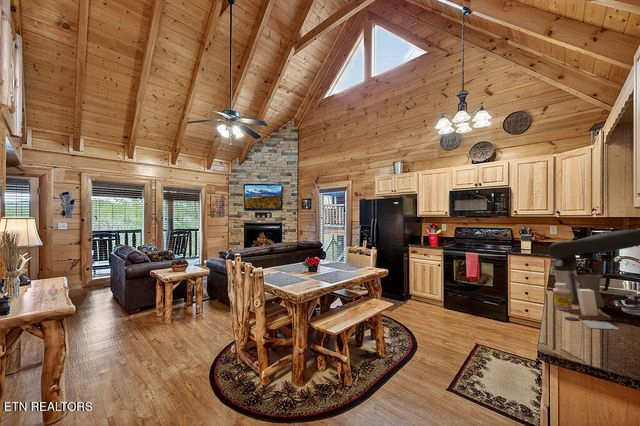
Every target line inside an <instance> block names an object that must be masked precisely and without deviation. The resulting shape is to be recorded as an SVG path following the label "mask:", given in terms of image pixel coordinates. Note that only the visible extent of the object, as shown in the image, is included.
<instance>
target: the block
mask: <svg viewBox="0 0 640 426" xmlns="http://www.w3.org/2000/svg"><path fill="white" fill-rule="evenodd" d="M577 291H578V298H579V302H578V303H579V308H580V311H581V313H580V315H592V316H599V314H598V313H597V307H596V301H595V294H594V291H592V290H590V289H581V288H579V289H577Z"/></svg>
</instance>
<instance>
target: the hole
mask: <svg viewBox="0 0 640 426" xmlns="http://www.w3.org/2000/svg"><path fill="white" fill-rule="evenodd" d="M564 320H566V321H570V322H572V321H573V322H579V321H580V319H579V318H578V317H574V316H565V317H564Z"/></svg>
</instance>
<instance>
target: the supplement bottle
mask: <svg viewBox="0 0 640 426" xmlns="http://www.w3.org/2000/svg"><path fill="white" fill-rule="evenodd" d="M566 287H567V284H565V283H556V282H555V283H554V288H553V289H552V292H553V300H554V307H555V309H557V310H560V311H569V309H573V304H572V303H573V302H571V295H570V290H569V289H567V288H566Z"/></svg>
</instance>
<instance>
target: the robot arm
mask: <svg viewBox="0 0 640 426" xmlns="http://www.w3.org/2000/svg"><path fill="white" fill-rule="evenodd" d="M639 246H640V228H636V229H623V230H622V229H620V230H613V231H607V232H602V233H598V234H593V235H590V236H586V237H582V238H580V239H576V240H568V241H565V240H563V241H562V240H560V241H555V242H553V243H552V244H550V245H549V246H548V250H547V252H548V253H549V254H550V256H552V257H553V258H555V262H554V264H553V270H554V275H555V277H554V278H555V283H565V284H567V287H566V288H567V289H569V290H570V295H571V302H572V303H579V298H578V291H577V289H580V286H579V283H578V282H577V281H576V280H575V279H574V278H573V277H574V276H577V269H576V268H577V255H579V254H593V253H594V254H595V253H603V252H604V253H605V252H612V251H613V252H614V251H618V250H625V249H629V248H634V247H639ZM613 300H614V301H624V304H625V305H627V306H640V293H623V294H614V295H613Z"/></svg>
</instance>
